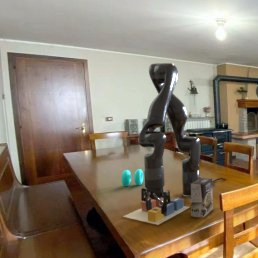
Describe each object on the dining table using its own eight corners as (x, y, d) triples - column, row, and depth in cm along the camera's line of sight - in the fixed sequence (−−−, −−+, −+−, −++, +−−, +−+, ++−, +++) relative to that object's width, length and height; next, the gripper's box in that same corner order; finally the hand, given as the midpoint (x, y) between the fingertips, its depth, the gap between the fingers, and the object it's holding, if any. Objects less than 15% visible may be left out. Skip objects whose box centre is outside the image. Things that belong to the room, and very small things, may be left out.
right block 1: (166, 210, 117) (166, 201, 117) (174, 212, 116) (173, 203, 115) (159, 214, 113) (158, 205, 113) (166, 216, 112) (166, 206, 111)
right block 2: (176, 205, 123) (176, 197, 122) (183, 207, 121) (183, 198, 121) (169, 209, 119) (169, 200, 118) (176, 210, 117) (176, 201, 117)
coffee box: (203, 218, 111) (203, 184, 109) (190, 217, 112) (190, 183, 110) (213, 210, 120) (212, 178, 118) (201, 209, 121) (200, 177, 119)
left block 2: (159, 202, 126) (159, 194, 126) (166, 203, 125) (165, 195, 124) (152, 205, 122) (151, 197, 122) (159, 207, 121) (158, 198, 120)
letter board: (157, 201, 129) (157, 200, 128) (189, 208, 122) (189, 207, 122) (122, 217, 111) (122, 216, 111) (158, 226, 104) (158, 224, 104)
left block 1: (149, 207, 121) (149, 198, 120) (156, 208, 119) (155, 199, 119) (141, 210, 117) (141, 201, 116) (148, 212, 115) (148, 203, 115)
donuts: (140, 187, 150) (139, 171, 149) (121, 188, 147) (120, 172, 146) (144, 182, 159) (143, 167, 158) (126, 183, 156) (125, 168, 155)
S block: (156, 216, 111) (155, 206, 111) (163, 217, 110) (163, 208, 109) (147, 220, 107) (147, 210, 107) (155, 222, 106) (155, 212, 105)
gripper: (174, 175, 108) (175, 210, 110) (149, 172, 113) (151, 205, 114) (160, 181, 101) (162, 218, 103) (134, 177, 105) (136, 212, 107)
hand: (156, 211), depth 109 cm, fingers open, 8 cm apart
